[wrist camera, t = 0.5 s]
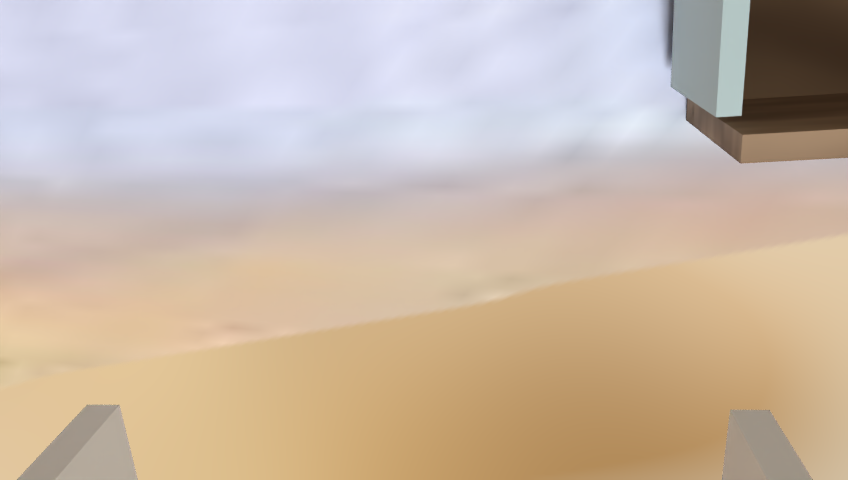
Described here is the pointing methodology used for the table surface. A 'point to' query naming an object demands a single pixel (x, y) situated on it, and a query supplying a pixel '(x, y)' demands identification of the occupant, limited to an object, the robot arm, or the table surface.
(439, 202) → the table surface
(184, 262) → the table surface
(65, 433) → the robot arm
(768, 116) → the brown open rectangular box
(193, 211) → the table surface
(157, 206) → the table surface
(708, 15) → the panel
